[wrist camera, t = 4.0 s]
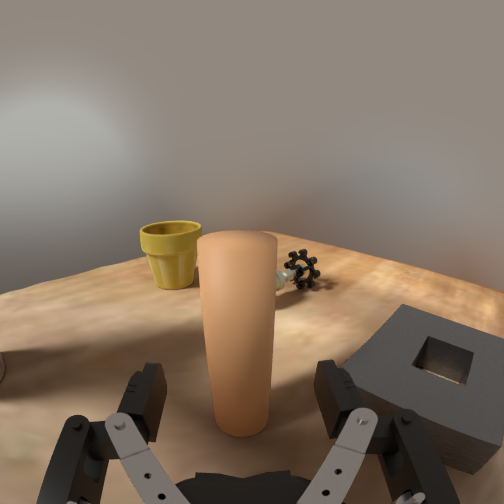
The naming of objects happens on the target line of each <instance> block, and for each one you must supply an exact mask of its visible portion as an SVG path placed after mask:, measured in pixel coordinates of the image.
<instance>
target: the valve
mask: <svg viewBox="0 0 504 504" xmlns="http://www.w3.org/2000/svg"><path fill="white" fill-rule="evenodd" d="M298 253H300V256H298V255H297V252H295V251H293V252H290V253H289V258H290V257H291V258H292V260H290V261H289V262H286V263H285V264H284V267H285V268H286V269H288V268H290V269H288V270H285V271H283V272H280V271H279V270H277V271H276V291H279V290H281V289H283V288H284V287H285V283H286V282H288V281H293V280H294V282H295V283H297V285H296V287H297V288H298V289H302V288H304V287H305V283H307V284H308V286H307V287H308V288H312V287H314V286H315V282H314V281H313V280H312V278H313V276H314V278H317V277H319V276H320V271H319V270H315V269H314V264H316V263H317V258H316V257H311V258H307V250H306V249H302V250H300V251H299V252H298ZM299 259H300V260H303V261H305V262H306V263H307V265H308V266H305V265H304V264H301V265H300V264H298V265H295V263H296V261H297V260H299ZM308 269H309V270H310V273H309V276H308V278H307V279H302V278H300V277H301V276H303V275H304V274H305V273H306V272H307V270H308Z"/></svg>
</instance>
